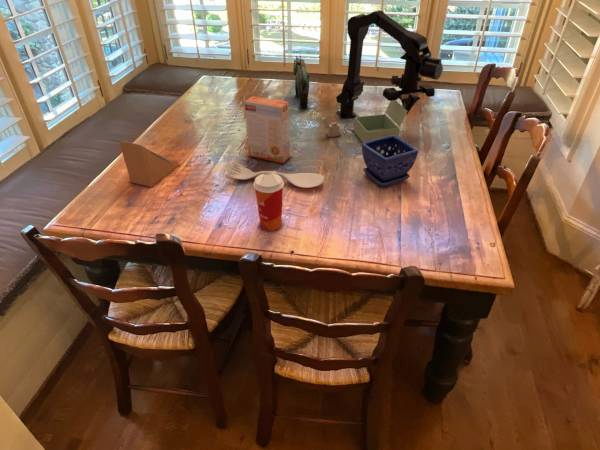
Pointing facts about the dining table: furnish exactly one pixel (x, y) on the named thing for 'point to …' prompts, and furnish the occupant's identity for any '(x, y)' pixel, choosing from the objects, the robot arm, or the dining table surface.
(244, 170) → the spoon
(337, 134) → the lighter
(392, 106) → the flap
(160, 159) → the sandwich container
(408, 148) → the flower pot
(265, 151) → the cracker box
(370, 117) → the carton
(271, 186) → the coffee cup
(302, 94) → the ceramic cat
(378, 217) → the dining table surface
